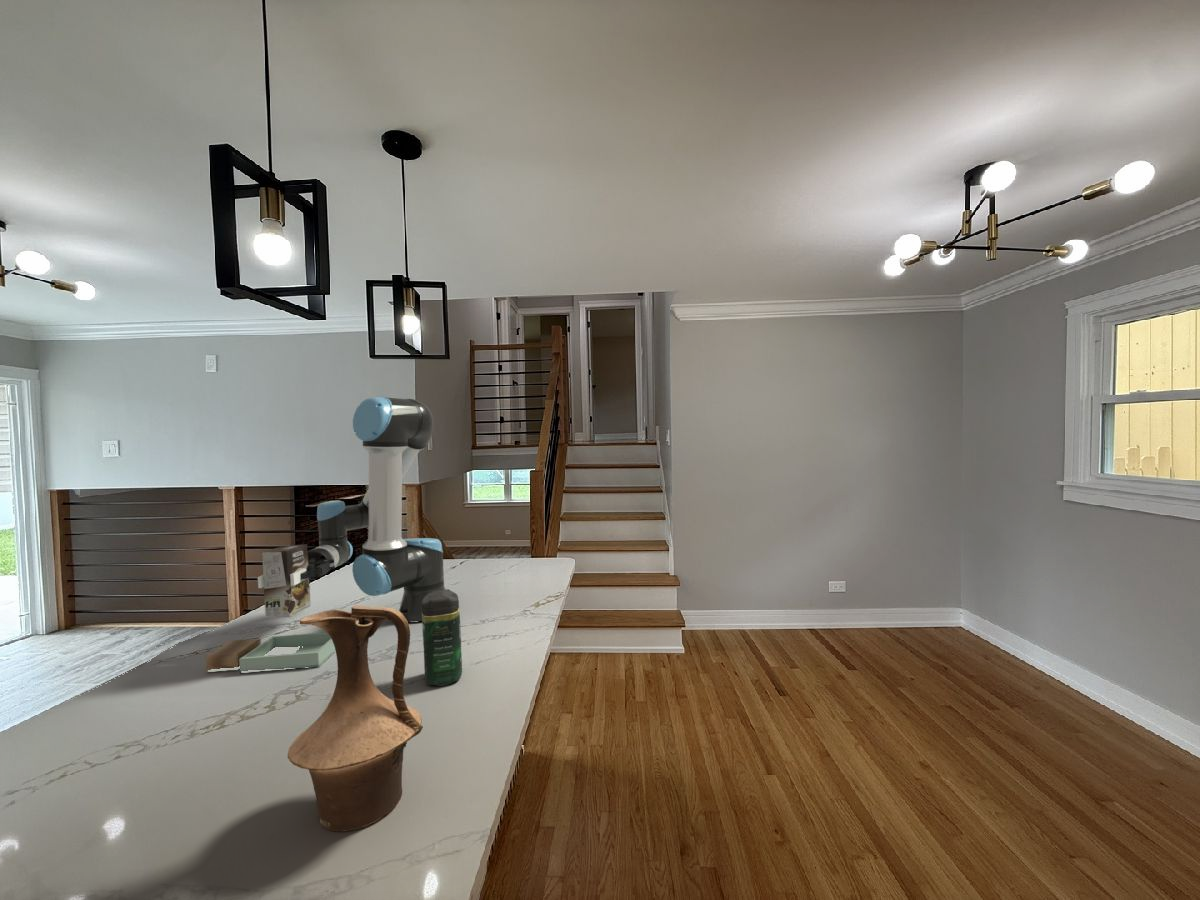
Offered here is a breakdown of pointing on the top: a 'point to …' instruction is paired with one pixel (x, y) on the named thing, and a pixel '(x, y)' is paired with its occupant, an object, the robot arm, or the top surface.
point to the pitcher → (358, 725)
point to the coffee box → (285, 581)
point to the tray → (310, 655)
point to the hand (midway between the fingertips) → (276, 581)
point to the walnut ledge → (231, 653)
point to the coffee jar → (441, 637)
